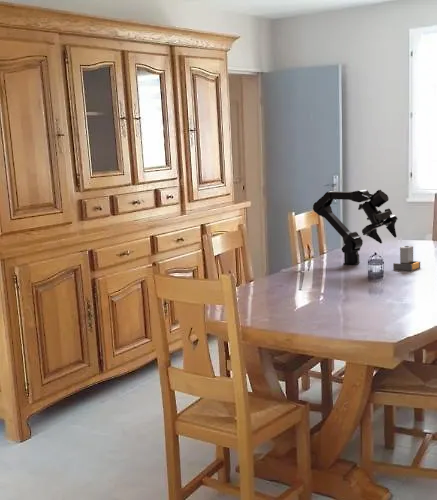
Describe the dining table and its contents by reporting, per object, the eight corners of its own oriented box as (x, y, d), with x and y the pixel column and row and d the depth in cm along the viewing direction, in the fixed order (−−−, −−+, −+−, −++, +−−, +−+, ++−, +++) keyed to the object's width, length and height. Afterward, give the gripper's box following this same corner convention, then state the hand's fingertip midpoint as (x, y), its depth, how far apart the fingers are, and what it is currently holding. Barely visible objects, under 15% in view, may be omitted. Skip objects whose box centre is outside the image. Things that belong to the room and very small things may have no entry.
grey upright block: (400, 268, 307) (400, 246, 305) (405, 266, 310) (405, 245, 308) (408, 269, 304) (408, 247, 302) (413, 267, 307) (413, 245, 306)
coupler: (393, 269, 307) (393, 263, 306) (402, 266, 313) (402, 260, 313) (411, 271, 301) (411, 265, 300) (420, 268, 307) (420, 261, 307)
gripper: (365, 210, 304) (382, 238, 300) (394, 199, 312) (412, 226, 308) (354, 221, 313) (371, 249, 309) (383, 210, 321) (399, 237, 317)
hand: (388, 240), depth 311 cm, fingers open, 9 cm apart
